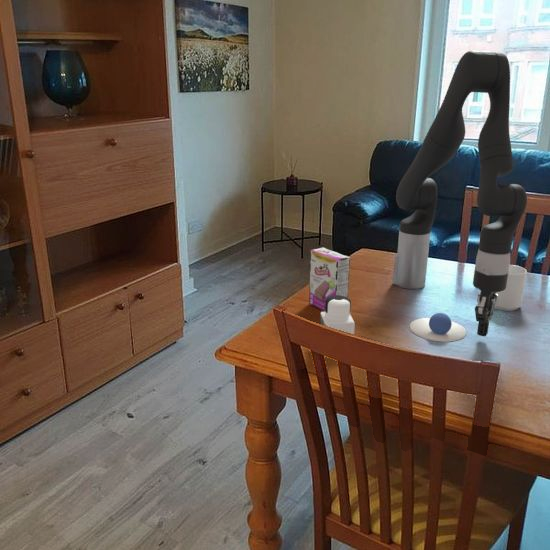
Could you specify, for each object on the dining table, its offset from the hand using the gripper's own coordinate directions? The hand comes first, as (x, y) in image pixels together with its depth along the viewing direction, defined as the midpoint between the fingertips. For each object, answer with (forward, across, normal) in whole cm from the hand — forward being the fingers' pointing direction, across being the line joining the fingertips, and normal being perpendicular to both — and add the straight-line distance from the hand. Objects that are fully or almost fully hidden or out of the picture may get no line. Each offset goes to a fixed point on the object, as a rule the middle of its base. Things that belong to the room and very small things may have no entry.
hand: (482, 334), depth 138 cm
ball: (-1, +2, -10) cm, 10 cm away
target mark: (+2, 0, -11) cm, 11 cm away
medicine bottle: (+2, +22, -29) cm, 36 cm away
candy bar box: (+2, +4, -41) cm, 41 cm away
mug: (+2, -28, -1) cm, 28 cm away
